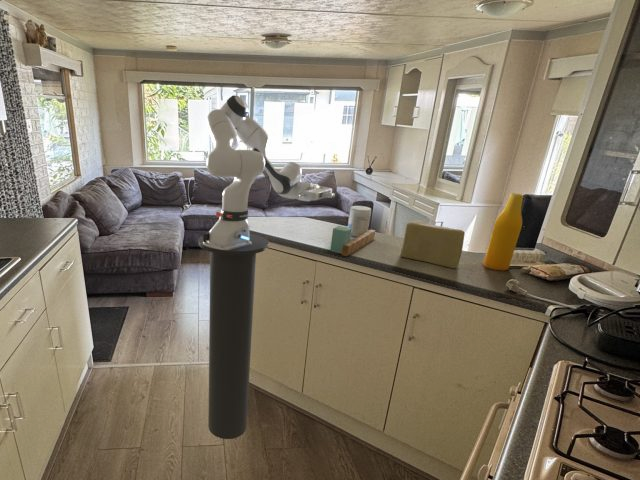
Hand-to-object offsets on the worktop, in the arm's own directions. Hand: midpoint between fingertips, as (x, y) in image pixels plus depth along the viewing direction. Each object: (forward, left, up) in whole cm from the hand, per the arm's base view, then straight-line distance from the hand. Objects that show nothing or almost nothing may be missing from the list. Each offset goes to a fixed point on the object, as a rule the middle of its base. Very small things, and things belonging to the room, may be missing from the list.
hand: (333, 195), depth 205 cm
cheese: (-13, -51, -19) cm, 56 cm away
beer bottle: (-2, -74, -19) cm, 76 cm away
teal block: (-25, -16, -18) cm, 35 cm away
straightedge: (-13, -20, -18) cm, 30 cm away
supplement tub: (0, -14, -19) cm, 23 cm away
